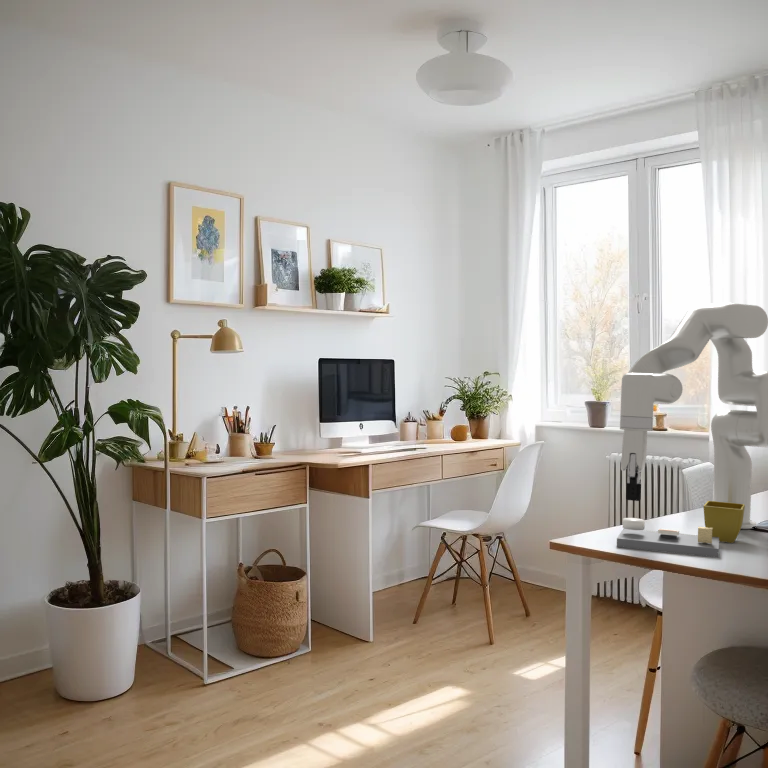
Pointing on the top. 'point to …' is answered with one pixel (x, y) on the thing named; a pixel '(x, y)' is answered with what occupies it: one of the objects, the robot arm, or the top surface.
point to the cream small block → (705, 534)
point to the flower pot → (724, 519)
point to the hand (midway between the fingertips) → (633, 499)
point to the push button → (633, 523)
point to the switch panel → (667, 543)
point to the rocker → (668, 531)
